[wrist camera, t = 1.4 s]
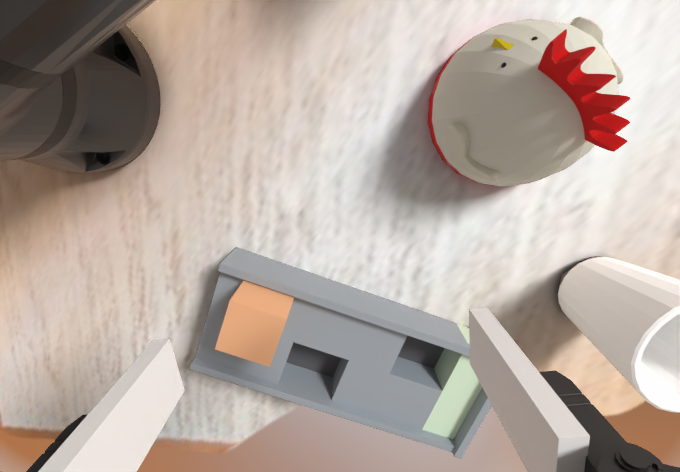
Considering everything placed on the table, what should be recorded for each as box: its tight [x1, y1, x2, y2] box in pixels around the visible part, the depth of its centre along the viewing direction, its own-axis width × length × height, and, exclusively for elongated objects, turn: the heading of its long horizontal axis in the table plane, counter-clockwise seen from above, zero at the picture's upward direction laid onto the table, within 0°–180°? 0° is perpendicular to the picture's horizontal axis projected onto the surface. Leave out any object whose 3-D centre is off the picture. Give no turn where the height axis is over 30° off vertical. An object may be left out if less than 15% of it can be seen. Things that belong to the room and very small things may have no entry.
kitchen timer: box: [428, 17, 630, 186], centre depth 27 cm, size 14×14×15 cm
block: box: [215, 280, 294, 367], centre depth 33 cm, size 5×5×5 cm
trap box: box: [190, 247, 492, 458], centre depth 38 cm, size 30×12×6 cm, turn 70°
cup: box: [558, 256, 680, 412], centre depth 32 cm, size 10×10×13 cm
